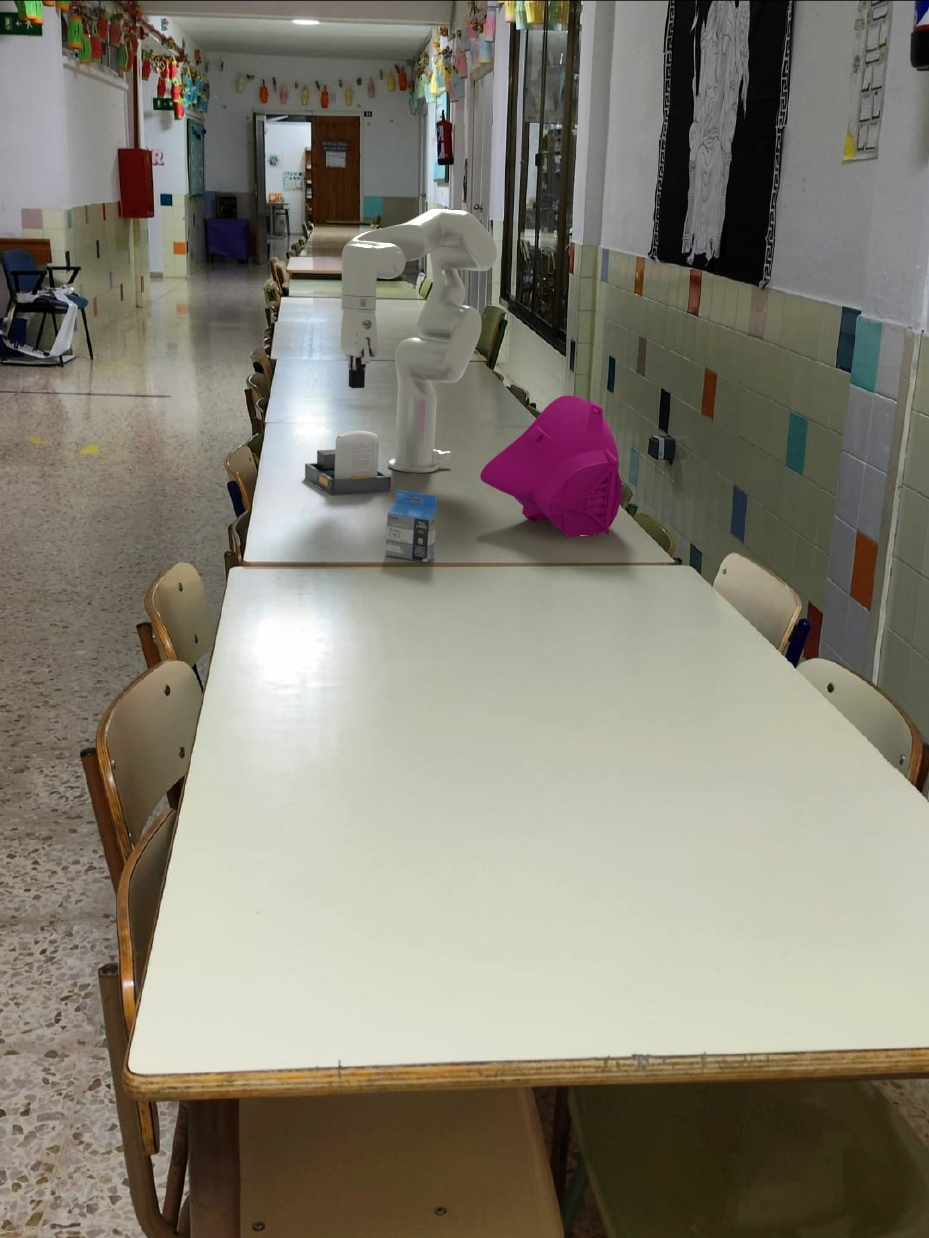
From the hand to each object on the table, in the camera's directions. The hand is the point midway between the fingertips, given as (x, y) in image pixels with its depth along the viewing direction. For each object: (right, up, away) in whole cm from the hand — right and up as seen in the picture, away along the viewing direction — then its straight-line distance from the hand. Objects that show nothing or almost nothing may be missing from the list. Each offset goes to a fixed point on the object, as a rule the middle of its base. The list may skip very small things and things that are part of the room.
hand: (356, 387), depth 270 cm
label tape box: (+14, -40, -39) cm, 58 cm away
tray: (-3, -21, +10) cm, 23 cm away
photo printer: (-1, -21, +7) cm, 22 cm away
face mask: (+43, -33, -13) cm, 56 cm away
